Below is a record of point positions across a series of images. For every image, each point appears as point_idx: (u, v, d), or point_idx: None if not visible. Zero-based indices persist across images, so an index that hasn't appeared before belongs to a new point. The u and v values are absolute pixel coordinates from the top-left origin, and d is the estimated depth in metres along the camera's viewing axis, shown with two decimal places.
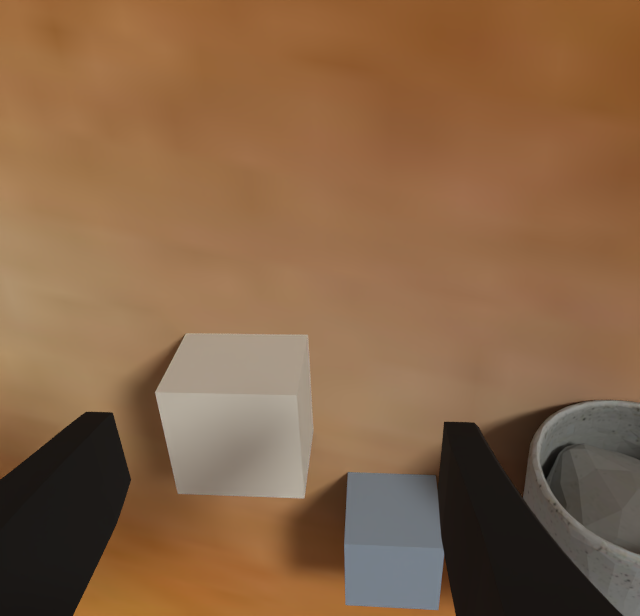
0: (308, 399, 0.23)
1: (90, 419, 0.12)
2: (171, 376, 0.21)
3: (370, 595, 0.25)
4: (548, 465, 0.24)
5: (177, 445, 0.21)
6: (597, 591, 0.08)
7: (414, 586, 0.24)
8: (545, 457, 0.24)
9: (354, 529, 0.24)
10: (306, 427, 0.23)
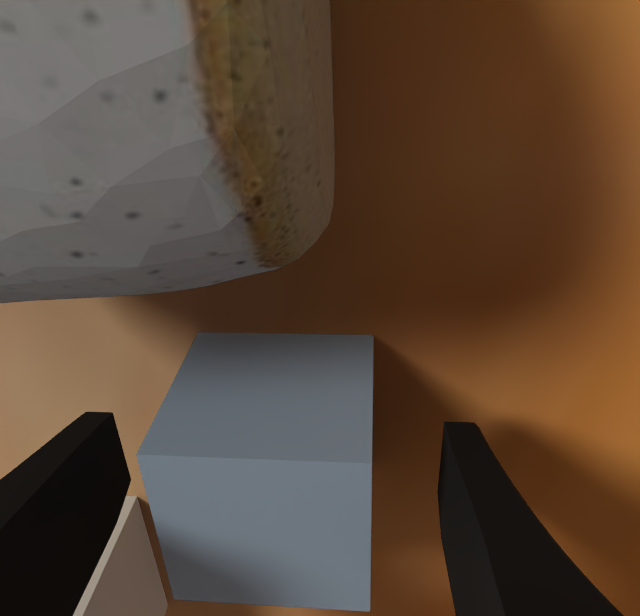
0: None
1: (91, 420, 0.12)
2: None
3: (330, 574, 0.11)
4: None
5: None
6: (597, 591, 0.08)
7: (284, 505, 0.10)
8: None
9: None
10: None
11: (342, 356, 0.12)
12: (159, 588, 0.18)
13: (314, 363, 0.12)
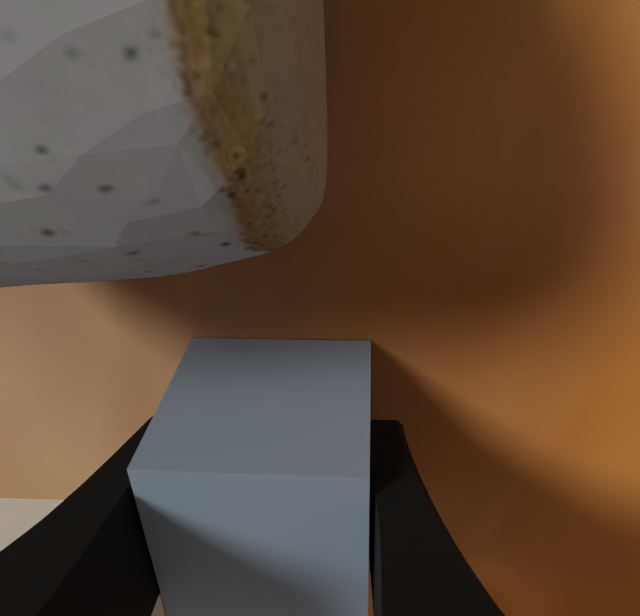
0: (26, 528, 0.15)
1: None
2: None
3: (327, 590, 0.11)
4: None
5: None
6: (478, 585, 0.08)
7: (278, 520, 0.10)
8: None
9: None
10: None
11: (339, 365, 0.12)
12: None
13: (310, 372, 0.12)
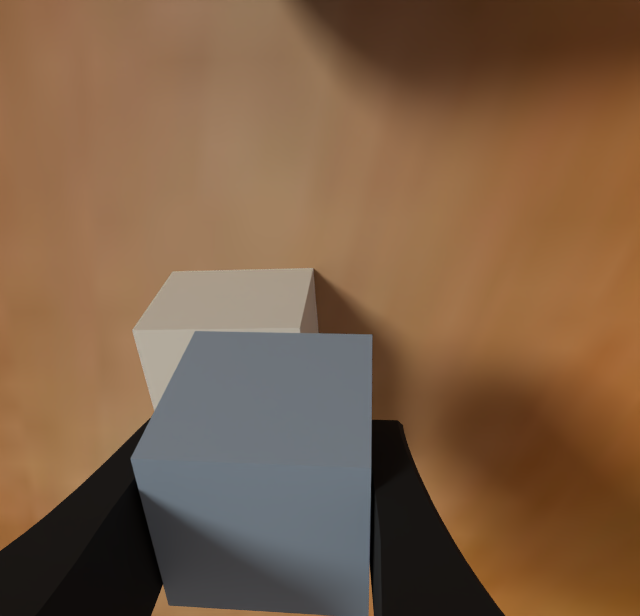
0: (235, 283, 0.19)
1: None
2: None
3: (328, 580, 0.11)
4: None
5: None
6: (478, 585, 0.08)
7: (281, 510, 0.10)
8: None
9: None
10: (244, 298, 0.18)
11: (340, 358, 0.12)
12: None
13: (312, 365, 0.12)
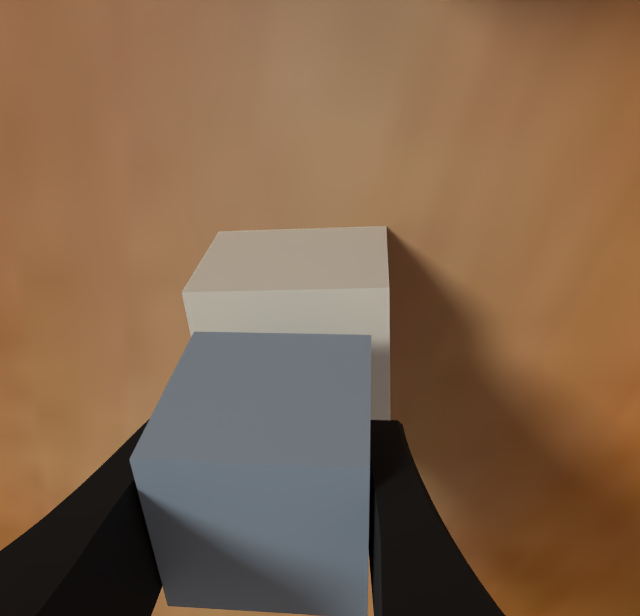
0: (297, 242, 0.16)
1: None
2: None
3: (327, 580, 0.11)
4: None
5: None
6: (478, 585, 0.08)
7: (279, 510, 0.10)
8: None
9: None
10: (311, 257, 0.15)
11: (339, 358, 0.12)
12: None
13: (311, 365, 0.12)
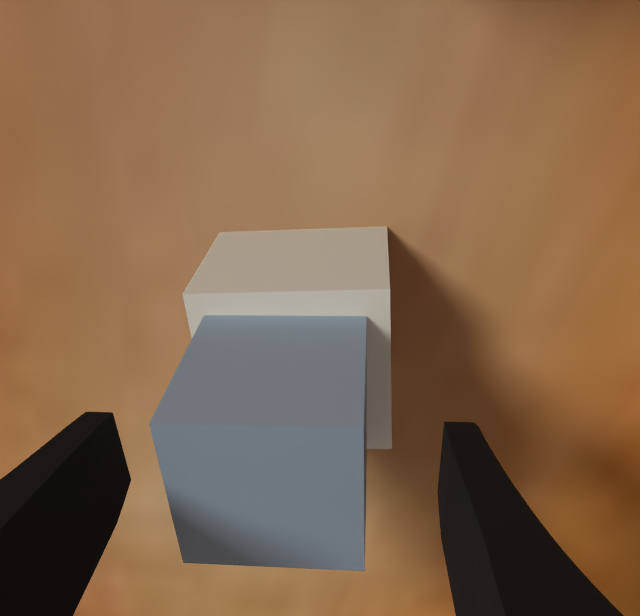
0: (297, 243, 0.16)
1: (91, 420, 0.12)
2: None
3: (327, 536, 0.12)
4: None
5: None
6: (597, 591, 0.08)
7: (284, 469, 0.11)
8: None
9: None
10: (312, 259, 0.15)
11: (337, 337, 0.13)
12: None
13: (311, 343, 0.13)
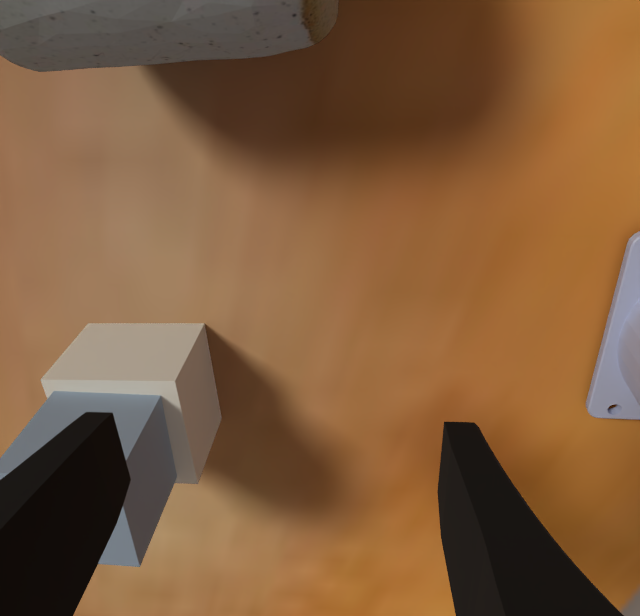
0: (136, 336, 0.23)
1: (91, 420, 0.12)
2: None
3: (111, 543, 0.19)
4: None
5: None
6: (597, 591, 0.08)
7: None
8: None
9: None
10: (138, 352, 0.22)
11: (133, 411, 0.20)
12: (216, 401, 0.25)
13: (114, 416, 0.20)
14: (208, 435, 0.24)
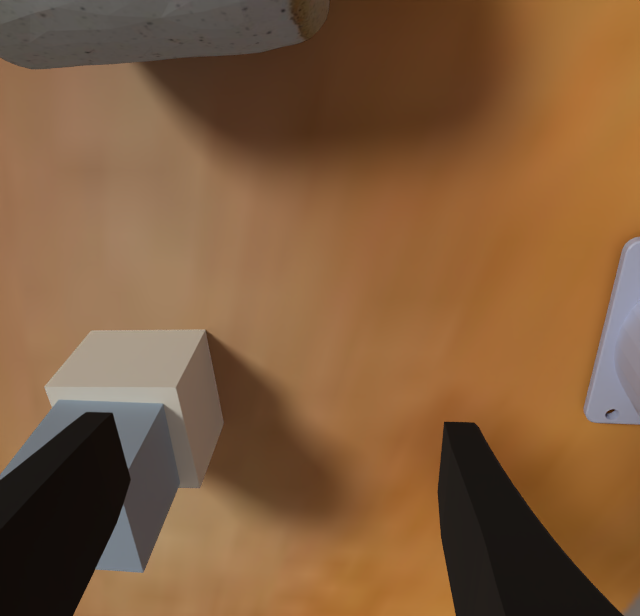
0: (138, 343, 0.23)
1: (91, 420, 0.12)
2: None
3: (115, 549, 0.19)
4: None
5: None
6: (597, 591, 0.08)
7: None
8: None
9: None
10: (140, 358, 0.22)
11: (136, 419, 0.20)
12: (218, 405, 0.26)
13: (117, 424, 0.20)
14: (210, 440, 0.24)
